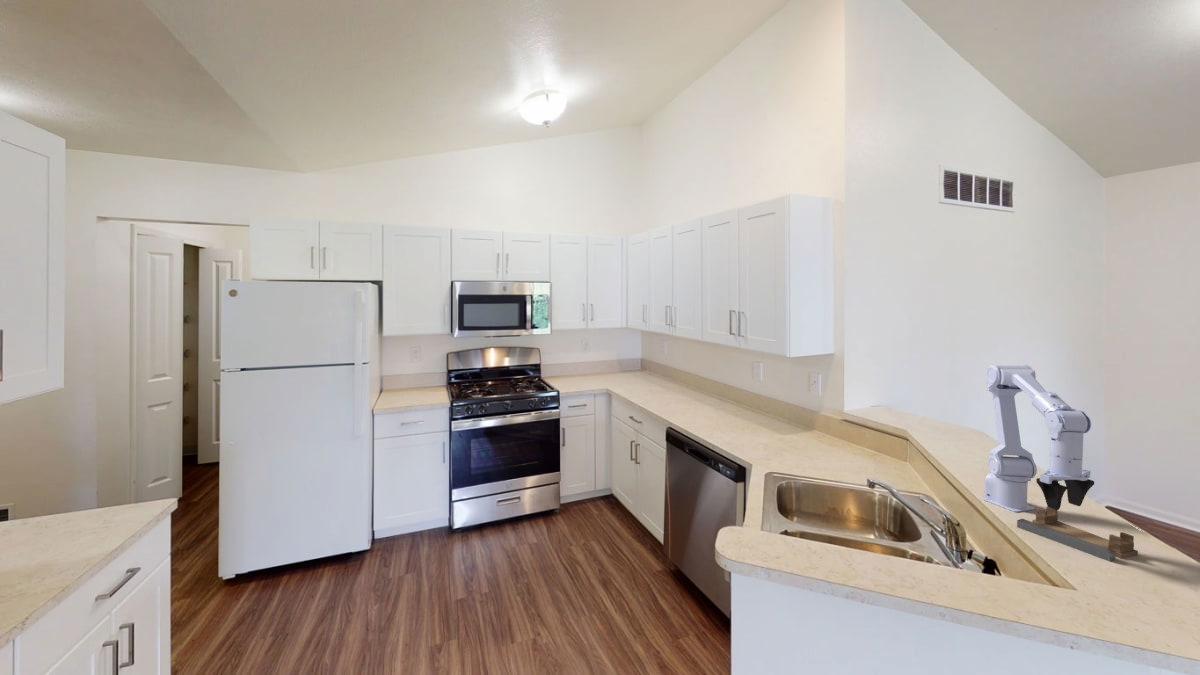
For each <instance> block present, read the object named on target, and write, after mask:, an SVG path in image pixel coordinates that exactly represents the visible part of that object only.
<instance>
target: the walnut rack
mask: <svg viewBox="0 0 1200 675" xmlns="http://www.w3.org/2000/svg"><path fill="white" fill-rule="evenodd" d="M1058 511H1059V510H1055V509H1052V508H1050V507H1048V506H1047V505H1046V509H1043V508H1041V507H1037V508H1036V514H1035V519H1032V521H1031V522H1034V523H1036V524H1039V525H1042V526H1045V527H1048V528H1051V529H1053V530H1056V531H1059V532H1062V533H1065V534H1068V535H1071V536H1073V537H1076V538H1079V539H1082V540H1085V541H1088V542H1090V543H1093V544H1096V545H1099V546H1102V547H1105V548H1107V549H1110V550H1113V551H1116V555H1115V558H1118V559H1125V558H1130V557H1134V556H1137V555H1138V554H1139V551H1138V550H1137V549H1135V543H1134V535H1131V534H1129V533H1126V532H1120V533H1119V536H1117V535H1114V534H1109V537H1108V539H1107V538H1105V537H1101V536H1100V535H1097V534H1093V533H1092V532H1089V531H1086V530H1083V529H1081V528H1077V527H1075V526H1073V525H1070V524H1068V523H1064V522H1062V521H1059V517H1058V516H1059V514H1058Z"/></svg>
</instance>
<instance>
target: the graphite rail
mask: <svg viewBox="0 0 1200 675" xmlns="http://www.w3.org/2000/svg"><path fill="white" fill-rule="evenodd" d="M1016 522H1017V523H1016V528H1018V529H1021V530H1024V531H1025V532H1029V533H1032V534H1034V535H1037V536H1039V537H1042V538H1045V539H1048V540H1051V541H1053V542H1057V543H1058V544H1061V545H1064V546H1067V547H1070V548H1072V549H1074V550H1077V551H1080V552H1083V553H1086V554H1088V555H1091V556H1094V557H1096V558H1099V559H1102V560H1104V561H1107V562H1110V563H1111V562H1112V561H1115V560H1116V556H1115V555H1116V551H1113V550H1110V549H1107V548H1105V547H1102V546H1099V545H1096V544H1093V543H1090V542H1088V541H1085V540H1082V539H1079V538H1076V537H1073V536H1071V535H1068V534H1065V533H1062V532H1059V531H1056V530H1053V529H1051V528H1048V527H1045V526H1042V525H1039V524H1036V523H1034V522H1032V521H1030V520H1028V519H1025V518H1020V519H1017V520H1016Z"/></svg>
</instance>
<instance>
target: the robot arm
mask: <svg viewBox="0 0 1200 675" xmlns="http://www.w3.org/2000/svg"><path fill="white" fill-rule="evenodd" d="M984 376H985V381H986V387H987V391H988V392H990V393H991V395H992V400H993V410H994V417H995V424H996V432H997V433H996V434H997V439H998V445H997V446H996V447H994V448H992V449H990V450H989V451H988V461H987V466H988V469H989V471H990V472H988V473H987V475H985V476H986V477H985V478H984V488H983V489H984V493H983V494H984V496H983V497H982V498H981V499H982V500H983V501H985V502H988V503H990V504H993V505H996V506H998V507H1001V508H1003V509H1006V510H1008V511H1012V512H1014V513H1021V512H1026V511H1031V510H1032V511H1033V510H1035V509H1036V508H1035V506H1032V505H1029V504H1028V490H1029V489H1028V484H1029V483H1028V482H1031V481H1032V480H1031V479H1034V478H1035V476H1036V475H1037V473H1038V468H1037V464H1036V462H1035V460H1034V457H1033V453H1031V452H1030V451H1029V450H1026V449H1025V448H1023V447H1022V443H1021V442H1022V441H1021V435H1020V428H1019V420H1018V414H1017V407H1016V400H1015V396H1016V395H1017V393H1021V392H1024V393H1025V395H1026V394H1027V396H1029V397H1030V398H1031V406H1033V407H1034V408H1035V409H1036V410H1037V411H1038V412H1039V413H1040V414H1041V416H1043V417H1044V422H1045V423H1044V424H1045V425H1046V427H1047V435H1048V437H1049V438H1050V448H1049V449H1050V453H1049V469H1047V470H1046V471H1045V472H1042V473H1040V474H1039V478H1036V479H1035V480H1036V484H1037V485H1038V486H1039V488H1040V489H1041V491H1042V494H1043V496H1044V499H1045V502H1046V507H1047V506H1048V507H1050V508H1052V509H1055V510H1058V511H1059V510H1060V509H1061V504H1062V500H1063V497H1064V494H1065V492H1066V495H1067V502H1068V504H1070V505H1073V506H1076V507H1081V506H1082V504H1083V501H1084V500H1085V497H1086V495H1087V493H1088V492H1089V490H1090V489H1091V488H1092V487H1093V486H1094V485H1095V481H1094V480H1092V479H1090V478H1091V470H1089V469H1086V468H1083V457H1084V456H1083V454H1084V435H1085V434H1087V433H1088V432H1090V430H1091V428H1092V422H1091V421H1092V420H1091V418H1090V416H1089V415H1088V414H1087V413H1086V411H1084V410H1080V409H1079V410H1078V409H1076V408H1072V407H1071V406H1070V405H1069V404H1068V403H1067V402H1066V401H1064V400H1063V399H1062V398H1061V397H1060V396H1059V395H1058V394H1057V393H1056V392H1052V391H1046V389H1045V388H1044V387H1043V386H1042V385H1041V384H1040V382H1038V380H1037V379H1036V378H1037V376H1036V371H1035V370H1034V369H1033V368H1032V366H1030V365H1029V364H1025V365H998V364H997V365H996V364H992V365H990V366H988V368H987V369H986V371H985V375H984ZM1060 481H1064V483H1065V485H1062V484H1060V483H1059V482H1060Z"/></svg>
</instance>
